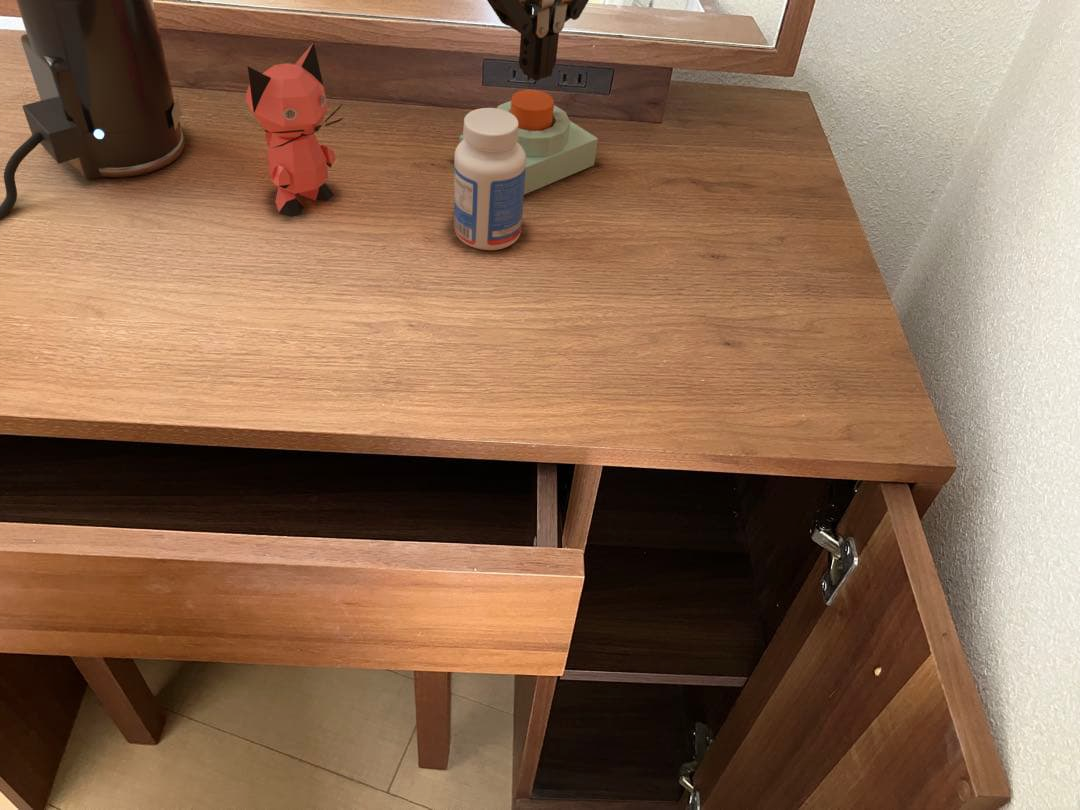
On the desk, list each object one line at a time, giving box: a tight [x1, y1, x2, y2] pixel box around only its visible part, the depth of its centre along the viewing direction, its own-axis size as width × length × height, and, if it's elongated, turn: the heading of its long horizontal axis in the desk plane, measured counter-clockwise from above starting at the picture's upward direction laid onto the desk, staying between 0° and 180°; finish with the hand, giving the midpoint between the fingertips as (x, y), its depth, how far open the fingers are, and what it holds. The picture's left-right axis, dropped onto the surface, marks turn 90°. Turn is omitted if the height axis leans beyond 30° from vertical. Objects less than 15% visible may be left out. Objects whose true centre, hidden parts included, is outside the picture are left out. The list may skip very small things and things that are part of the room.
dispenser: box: [458, 100, 599, 195], centre depth 78 cm, size 10×7×4 cm
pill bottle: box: [453, 107, 526, 251], centre depth 69 cm, size 6×5×10 cm
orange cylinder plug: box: [510, 89, 555, 131], centre depth 76 cm, size 4×4×2 cm
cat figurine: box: [244, 42, 345, 217], centre depth 69 cm, size 7×7×12 cm
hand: (536, 75), depth 74 cm, fingers closed
